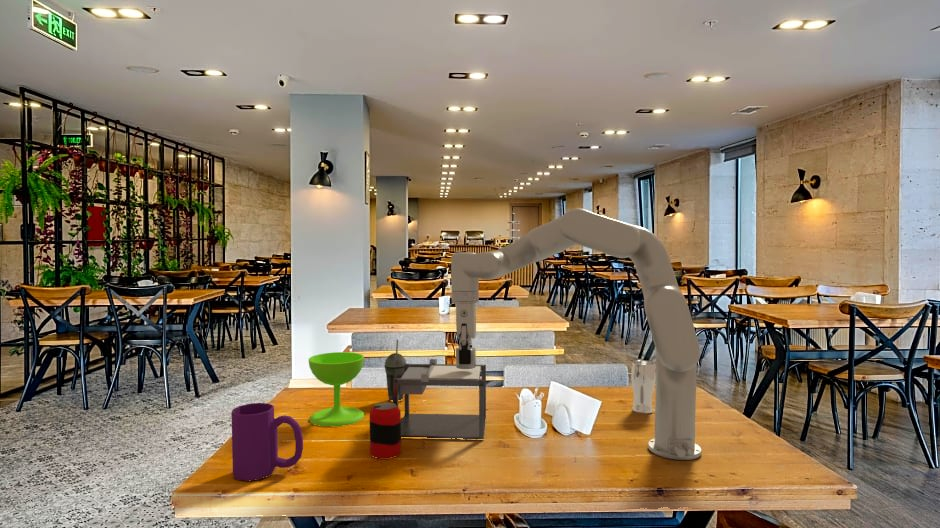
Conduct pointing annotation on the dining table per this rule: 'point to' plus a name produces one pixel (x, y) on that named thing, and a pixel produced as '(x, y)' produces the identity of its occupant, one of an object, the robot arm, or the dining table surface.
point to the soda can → (385, 430)
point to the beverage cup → (394, 371)
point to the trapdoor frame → (442, 423)
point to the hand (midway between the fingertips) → (465, 360)
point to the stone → (466, 366)
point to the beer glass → (643, 385)
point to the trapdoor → (436, 376)
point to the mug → (259, 441)
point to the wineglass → (336, 385)
